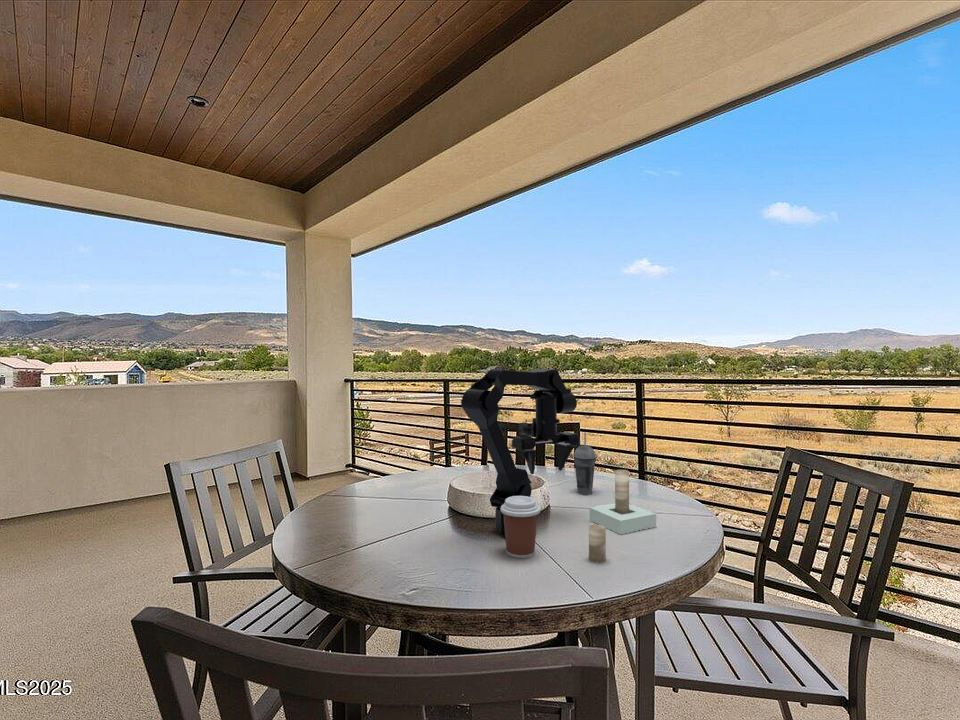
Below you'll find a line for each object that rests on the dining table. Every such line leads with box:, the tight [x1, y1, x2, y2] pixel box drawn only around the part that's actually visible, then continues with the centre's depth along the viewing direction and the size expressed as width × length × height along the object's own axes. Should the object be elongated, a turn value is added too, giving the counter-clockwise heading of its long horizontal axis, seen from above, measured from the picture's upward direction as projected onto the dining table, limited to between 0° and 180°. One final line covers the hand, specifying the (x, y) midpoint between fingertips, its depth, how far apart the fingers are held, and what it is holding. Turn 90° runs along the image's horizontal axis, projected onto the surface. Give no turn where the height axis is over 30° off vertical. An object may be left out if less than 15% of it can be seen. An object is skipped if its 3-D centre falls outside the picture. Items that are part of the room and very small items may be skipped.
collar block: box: [589, 502, 657, 535], centre depth 132 cm, size 12×12×4 cm
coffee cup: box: [500, 496, 541, 559], centre depth 113 cm, size 9×9×12 cm
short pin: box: [588, 524, 607, 564], centre depth 109 cm, size 4×4×7 cm
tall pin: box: [614, 469, 630, 515], centre depth 132 cm, size 4×4×14 cm
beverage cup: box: [573, 431, 597, 496], centre depth 161 cm, size 7×7×20 cm
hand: (546, 472), depth 135 cm, fingers open, 9 cm apart
